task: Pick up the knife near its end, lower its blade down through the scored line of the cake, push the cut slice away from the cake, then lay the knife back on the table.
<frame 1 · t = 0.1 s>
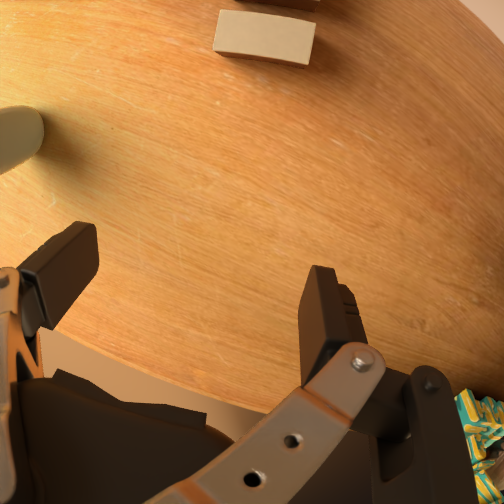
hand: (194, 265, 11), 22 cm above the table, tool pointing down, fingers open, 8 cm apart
cup: (33, 129, 29), on the table
slice: (265, 42, 24), on the table
party decoration: (476, 408, 53), on the table
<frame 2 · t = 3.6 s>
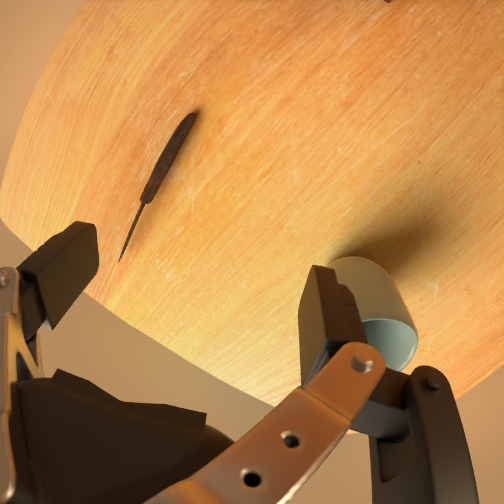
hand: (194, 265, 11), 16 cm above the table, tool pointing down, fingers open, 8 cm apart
knife: (152, 192, 26), on the table
cup: (347, 278, 29), on the table
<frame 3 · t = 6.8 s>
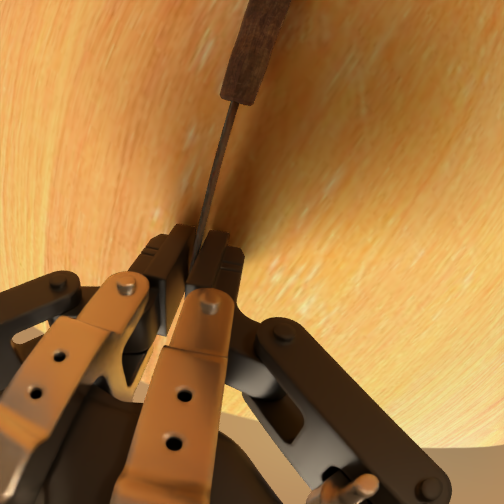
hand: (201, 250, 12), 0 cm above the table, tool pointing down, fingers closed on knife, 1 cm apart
knife: (244, 90, 9), on the table, touching gripper
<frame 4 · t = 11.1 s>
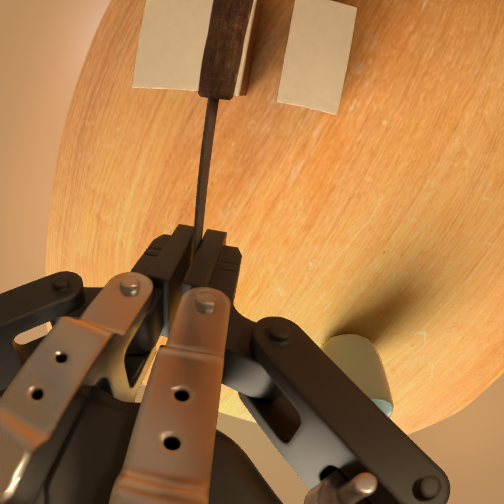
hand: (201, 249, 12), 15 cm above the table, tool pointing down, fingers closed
knife: (223, 86, 9), point 14 cm above the table, touching gripper
cup: (343, 346, 34), on the table
cake: (206, 43, 20), on the table
slice: (310, 58, 20), on the table
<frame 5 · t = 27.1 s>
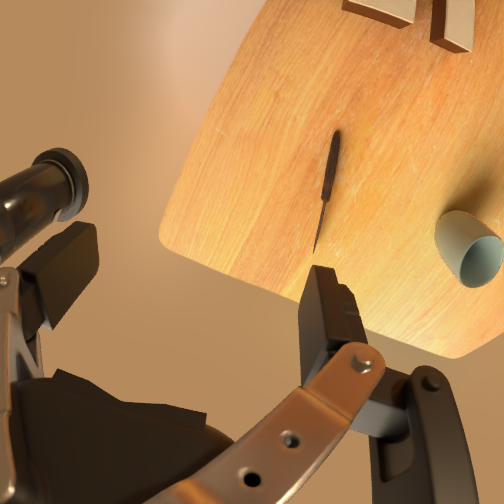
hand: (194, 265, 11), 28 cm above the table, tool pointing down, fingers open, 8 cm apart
knife: (324, 194, 38), on the table
cup: (448, 227, 38), on the table
slice: (444, 22, 24), on the table
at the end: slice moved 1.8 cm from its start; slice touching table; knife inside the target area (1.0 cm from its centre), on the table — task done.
